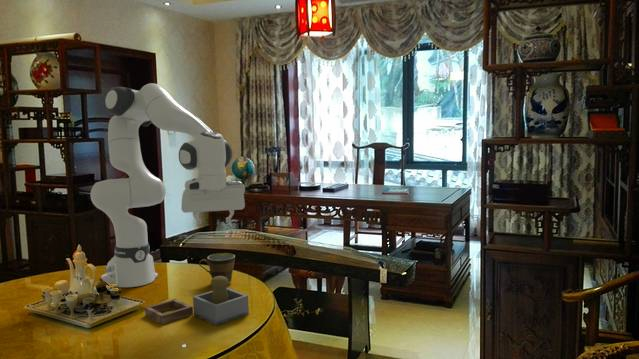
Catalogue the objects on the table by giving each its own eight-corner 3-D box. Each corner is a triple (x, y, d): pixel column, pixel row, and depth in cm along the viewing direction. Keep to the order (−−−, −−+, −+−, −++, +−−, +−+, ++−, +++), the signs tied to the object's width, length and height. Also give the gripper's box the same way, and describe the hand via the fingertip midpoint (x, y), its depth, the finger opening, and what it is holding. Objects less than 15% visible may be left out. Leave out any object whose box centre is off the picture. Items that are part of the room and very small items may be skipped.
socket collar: (145, 315, 160) (145, 307, 160) (175, 306, 168) (175, 298, 167) (162, 324, 153) (162, 316, 153) (192, 314, 160) (192, 306, 160)
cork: (232, 313, 158) (231, 278, 157) (213, 316, 156) (212, 281, 155) (227, 306, 164) (226, 272, 163) (208, 309, 161) (207, 275, 160)
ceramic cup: (235, 277, 196) (234, 252, 195) (236, 286, 186) (235, 259, 185) (200, 280, 194) (199, 254, 192) (199, 288, 184) (198, 261, 183)
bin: (193, 315, 160) (192, 296, 159) (225, 304, 168) (225, 286, 168) (216, 325, 151) (215, 306, 151) (248, 314, 160) (248, 295, 159)
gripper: (243, 179, 173) (244, 220, 175) (180, 182, 167) (182, 223, 169) (246, 182, 167) (246, 224, 169) (180, 185, 161) (182, 228, 163)
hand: (213, 224), depth 169 cm, fingers open, 8 cm apart
